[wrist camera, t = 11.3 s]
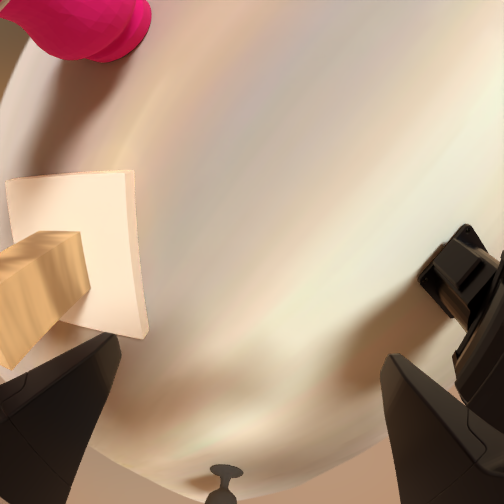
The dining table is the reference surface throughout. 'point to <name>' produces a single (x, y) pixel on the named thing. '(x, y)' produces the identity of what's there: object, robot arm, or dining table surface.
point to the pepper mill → (81, 26)
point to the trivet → (90, 240)
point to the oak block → (38, 289)
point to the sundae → (223, 485)
